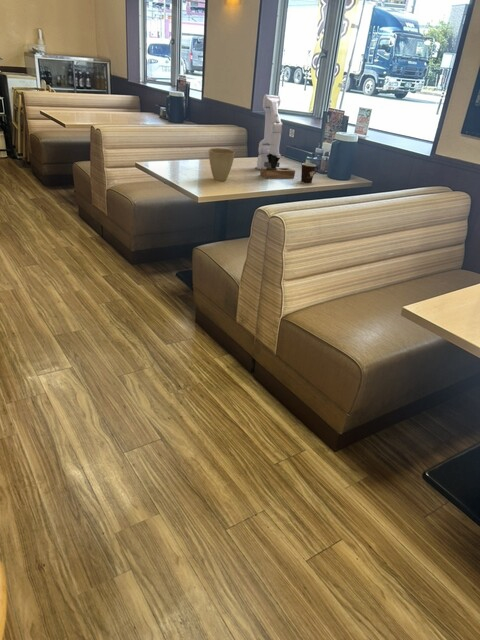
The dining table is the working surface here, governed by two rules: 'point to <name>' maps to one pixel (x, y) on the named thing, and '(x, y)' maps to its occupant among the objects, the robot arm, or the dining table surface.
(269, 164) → the grey rectangular block
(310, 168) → the coffee mug
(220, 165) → the plant pot
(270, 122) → the robot arm
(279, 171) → the wooden slotted block
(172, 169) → the dining table surface
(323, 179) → the dining table surface
